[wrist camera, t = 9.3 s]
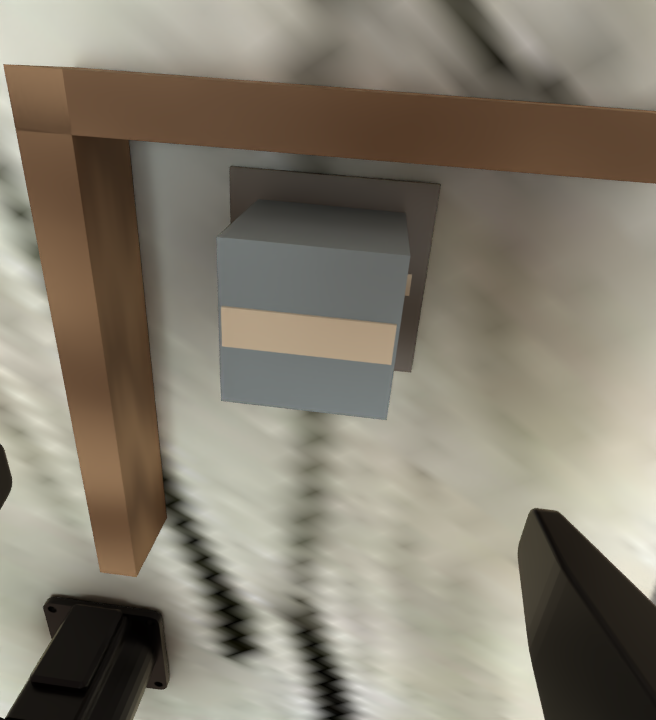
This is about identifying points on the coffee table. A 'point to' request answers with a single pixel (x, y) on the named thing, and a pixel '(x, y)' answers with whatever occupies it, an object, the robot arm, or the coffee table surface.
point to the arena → (239, 131)
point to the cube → (311, 306)
